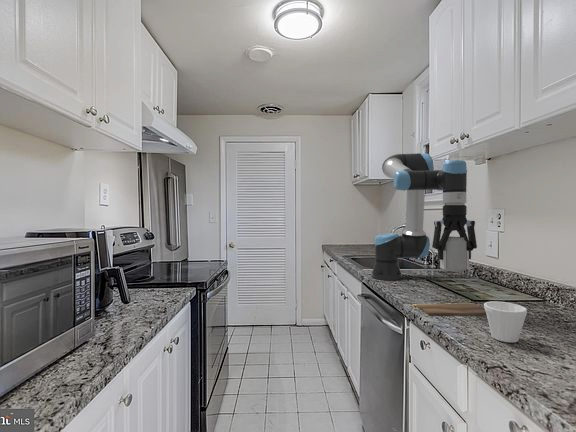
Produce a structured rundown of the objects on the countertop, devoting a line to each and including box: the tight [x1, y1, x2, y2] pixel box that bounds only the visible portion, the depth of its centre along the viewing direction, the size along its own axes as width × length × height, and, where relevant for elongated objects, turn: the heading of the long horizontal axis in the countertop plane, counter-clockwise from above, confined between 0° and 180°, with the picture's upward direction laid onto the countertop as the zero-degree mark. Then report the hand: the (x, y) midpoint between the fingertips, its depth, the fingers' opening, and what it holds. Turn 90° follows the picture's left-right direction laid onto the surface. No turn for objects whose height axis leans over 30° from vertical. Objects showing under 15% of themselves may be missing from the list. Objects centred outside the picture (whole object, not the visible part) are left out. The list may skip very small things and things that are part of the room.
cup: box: [483, 300, 528, 344], centre depth 89 cm, size 10×10×9 cm
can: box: [444, 236, 467, 273], centre depth 113 cm, size 8×8×12 cm
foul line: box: [411, 302, 476, 307], centre depth 120 cm, size 1×24×1 cm, turn 91°
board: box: [416, 303, 487, 317], centre depth 114 cm, size 10×22×1 cm, turn 91°
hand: (454, 268), depth 113 cm, fingers closed on can, 7 cm apart
